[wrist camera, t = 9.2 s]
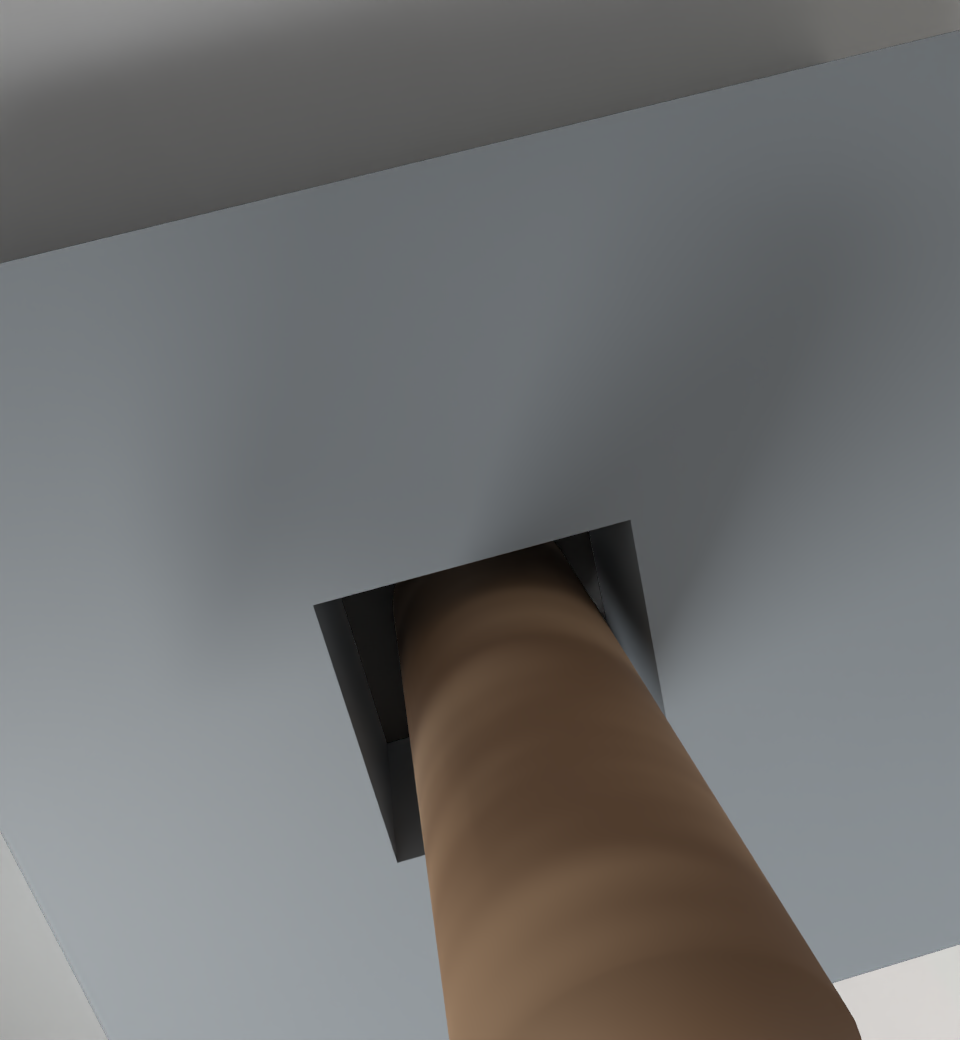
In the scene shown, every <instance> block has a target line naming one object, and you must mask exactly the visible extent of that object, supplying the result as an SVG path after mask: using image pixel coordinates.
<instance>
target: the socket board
mask: <svg viewBox="0 0 960 1040" xmlns="http://www.w3.org/2000/svg"><path fill="white" fill-rule="evenodd" d="M587 531H589V535H590V540H591V545H592V550H593V555H594V560H595V565H596V570H597V575H598V581H599V586H600V591H601V596H602V601H603V606H604V611H605V616H606V621H607V625H608V626H609V628H610V630H611V631H612V633H613V634H614V636H615V638H616V639H617V641H618V642H619V644H620V646H621V647H622V649H623V650H624V652H625V653H626V655H627V657H628V658H629V660H630V661H631V663H632V665H633V666H634V668H635V669H636V671H637V673H638V674H639V676H640V677H641V679H642V681H643V682H644V684H645V685H646V687H647V689H648V690H649V692H650V693H651V695H652V697H653V698H654V700H655V701H656V703H657V705H658V706H659V708H660V709H661V711H662V713H663V714H664V716H665V717H666V719H667V721H668V722H669V724H670V725H671V727H672V729H673V730H674V732H675V733H676V735H677V737H678V738H679V740H680V741H681V743H682V745H683V746H684V748H685V749H686V751H687V753H688V754H689V756H690V757H691V759H692V761H693V762H694V764H695V765H696V767H697V769H698V770H699V772H700V773H701V775H702V777H703V778H704V780H705V781H706V783H707V785H708V786H709V788H710V789H711V791H712V792H713V794H714V796H715V797H716V799H717V800H718V802H719V804H720V805H721V807H722V808H723V810H724V812H725V813H726V815H727V816H728V818H729V820H730V821H731V823H732V824H733V826H734V828H735V829H736V831H737V832H738V834H739V836H740V837H741V839H742V840H743V842H744V844H745V845H746V847H747V848H748V850H749V852H750V853H751V855H752V856H753V858H754V860H755V861H756V863H757V864H758V866H759V868H760V869H761V871H762V872H763V874H764V876H765V877H766V879H767V880H768V882H769V884H770V885H771V887H772V888H773V890H774V892H775V893H776V895H777V896H778V898H779V900H780V901H781V903H782V904H783V906H784V908H785V909H786V911H787V912H788V914H789V916H790V917H791V919H792V920H793V922H794V923H795V925H796V927H797V928H798V930H799V931H800V933H801V935H802V936H803V938H804V939H805V941H806V943H807V944H808V946H809V947H810V949H811V951H812V952H813V954H814V955H815V957H816V959H817V960H818V962H819V963H820V965H821V967H822V968H823V970H824V971H825V973H826V975H827V976H828V978H829V979H830V981H831V983H834V982H838V981H841V980H844V979H848V978H851V977H854V976H858V975H861V974H864V973H867V972H871V971H874V970H877V969H881V968H884V967H887V966H890V965H894V964H897V963H900V962H904V961H907V960H910V959H913V958H917V957H920V956H923V955H927V954H930V953H933V952H936V951H940V950H943V949H946V948H950V947H953V946H956V945H960V30H958V31H954V32H950V33H946V34H941V35H937V36H933V37H929V38H925V39H921V40H917V41H913V42H909V43H904V44H900V45H896V46H892V47H888V48H884V49H880V50H876V51H872V52H867V53H863V54H859V55H855V56H851V57H847V58H843V59H839V60H835V61H830V62H826V63H822V64H818V65H814V66H810V67H806V68H802V69H798V70H793V71H789V72H785V73H781V74H777V75H773V76H769V77H765V78H761V79H756V80H752V81H748V82H744V83H740V84H736V85H732V86H728V87H724V88H719V89H715V90H711V91H707V92H703V93H699V94H695V95H691V96H687V97H682V98H678V99H674V100H670V101H666V102H662V103H658V104H654V105H650V106H645V107H641V108H637V109H633V110H629V111H625V112H621V113H617V114H613V115H608V116H604V117H600V118H596V119H592V120H588V121H584V122H580V123H576V124H571V125H567V126H563V127H559V128H555V129H551V130H547V131H543V132H539V133H534V134H530V135H526V136H522V137H518V138H514V139H510V140H506V141H502V142H497V143H493V144H489V145H485V146H481V147H477V148H473V149H469V150H465V151H460V152H456V153H452V154H448V155H444V156H440V157H436V158H432V159H428V160H423V161H419V162H415V163H411V164H407V165H403V166H399V167H395V168H391V169H386V170H382V171H378V172H374V173H370V174H366V175H362V176H358V177H354V178H349V179H345V180H341V181H337V182H333V183H329V184H325V185H321V186H316V187H312V188H308V189H304V190H300V191H296V192H292V193H288V194H284V195H279V196H275V197H271V198H267V199H263V200H259V201H255V202H251V203H247V204H242V205H238V206H234V207H230V208H226V209H222V210H218V211H214V212H210V213H205V214H201V215H197V216H193V217H189V218H185V219H181V220H177V221H173V222H168V223H164V224H160V225H156V226H152V227H148V228H144V229H140V230H136V231H131V232H127V233H123V234H119V235H115V236H111V237H107V238H103V239H99V240H94V241H90V242H86V243H82V244H78V245H74V246H70V247H66V248H62V249H57V250H53V251H49V252H45V253H41V254H37V255H33V256H29V257H25V258H20V259H16V260H12V261H8V262H4V263H0V832H1V834H2V836H3V838H4V840H5V841H6V843H7V845H8V847H9V849H10V851H11V853H12V855H13V857H14V859H15V861H16V863H17V865H18V867H19V869H20V870H21V872H22V874H23V876H24V878H25V880H26V882H27V884H28V886H29V888H30V890H31V892H32V894H33V896H34V897H35V899H36V901H37V903H38V905H39V907H40V909H41V911H42V913H43V915H44V917H45V919H46V921H47V923H48V925H49V926H50V928H51V930H52V932H53V934H54V936H55V938H56V940H57V942H58V944H59V946H60V948H61V950H62V952H63V953H64V955H65V957H66V959H67V961H68V963H69V965H70V967H71V969H72V971H73V973H74V975H75V977H76V979H77V981H78V982H79V984H80V986H81V988H82V990H83V992H84V994H85V996H86V998H87V1000H88V1002H89V1004H90V1006H91V1008H92V1009H93V1011H94V1013H95V1015H96V1017H97V1019H98V1021H99V1023H100V1025H101V1027H102V1029H103V1031H104V1033H105V1035H106V1037H107V1038H108V1040H449V1034H448V1027H447V1019H446V1011H445V1004H444V996H443V988H442V981H441V973H440V966H439V958H438V950H437V943H436V935H435V927H434V920H433V912H432V904H431V897H430V889H429V882H428V874H427V866H426V859H425V851H424V843H423V836H422V828H421V821H420V813H419V805H418V798H417V790H416V782H415V775H414V767H413V759H412V752H411V744H410V737H409V738H405V739H401V740H398V741H394V742H391V743H387V742H386V739H385V736H384V733H383V729H382V726H381V723H380V720H379V717H378V714H377V710H376V707H375V704H374V701H373V698H372V694H371V691H370V688H369V685H368V682H367V678H366V675H365V672H364V669H363V666H362V663H361V659H360V656H359V653H358V650H357V647H356V643H355V640H354V637H353V634H352V631H351V627H350V624H349V621H348V618H347V615H346V612H345V608H344V605H343V602H342V599H341V598H342V597H346V596H349V595H353V594H357V593H361V592H364V591H368V590H372V589H375V588H379V587H383V586H387V585H390V584H394V583H398V582H401V581H405V580H409V579H413V578H416V577H420V576H424V575H427V574H431V573H435V572H438V571H442V570H446V569H450V568H453V567H457V566H461V565H464V564H468V563H472V562H476V561H479V560H483V559H487V558H490V557H494V556H498V555H501V554H505V553H509V552H513V551H516V550H520V549H524V548H527V547H531V546H535V545H539V544H542V543H546V542H550V541H553V540H557V539H561V538H564V537H568V536H572V535H576V534H579V533H583V532H587Z"/></svg>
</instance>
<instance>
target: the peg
mask: <svg viewBox="0 0 960 1040" xmlns="http://www.w3.org/2000/svg"><path fill="white" fill-rule="evenodd" d="M393 614H394V622H395V630H396V637H397V645H398V653H399V660H400V668H401V675H402V683H403V691H404V698H405V706H406V714H407V721H408V729H409V737H410V744H411V752H412V759H413V767H414V775H415V782H416V790H417V798H418V805H419V813H420V821H421V828H422V836H423V843H424V851H425V859H426V866H427V874H428V882H429V889H430V897H431V904H432V912H433V920H434V927H435V935H436V943H437V950H438V958H439V966H440V973H441V981H442V988H443V996H444V1004H445V1011H446V1019H447V1027H448V1034H449V1040H861V1036H860V1033H859V1031H858V1028H857V1025H856V1022H855V1020H854V1018H853V1017H852V1015H851V1013H850V1012H849V1010H848V1008H847V1007H846V1005H845V1003H844V1002H843V1000H842V999H841V997H840V995H839V994H838V992H837V991H836V989H835V987H834V986H833V984H832V983H831V981H830V979H829V978H828V976H827V975H826V973H825V971H824V970H823V968H822V967H821V965H820V963H819V962H818V960H817V959H816V957H815V955H814V954H813V952H812V951H811V949H810V947H809V946H808V944H807V943H806V941H805V939H804V938H803V936H802V935H801V933H800V931H799V930H798V928H797V927H796V925H795V923H794V922H793V920H792V919H791V917H790V916H789V914H788V912H787V911H786V909H785V908H784V906H783V904H782V903H781V901H780V900H779V898H778V896H777V895H776V893H775V892H774V890H773V888H772V887H771V885H770V884H769V882H768V880H767V879H766V877H765V876H764V874H763V872H762V871H761V869H760V868H759V866H758V864H757V863H756V861H755V860H754V858H753V856H752V855H751V853H750V852H749V850H748V848H747V847H746V845H745V844H744V842H743V840H742V839H741V837H740V836H739V834H738V832H737V831H736V829H735V828H734V826H733V824H732V823H731V821H730V820H729V818H728V816H727V815H726V813H725V812H724V810H723V808H722V807H721V805H720V804H719V802H718V800H717V799H716V797H715V796H714V794H713V792H712V791H711V789H710V788H709V786H708V785H707V783H706V781H705V780H704V778H703V777H702V775H701V773H700V772H699V770H698V769H697V767H696V765H695V764H694V762H693V761H692V759H691V757H690V756H689V754H688V753H687V751H686V749H685V748H684V746H683V745H682V743H681V741H680V740H679V738H678V737H677V735H676V733H675V732H674V730H673V729H672V727H671V725H670V724H669V722H668V721H667V719H666V717H665V716H664V714H663V713H662V711H661V709H660V708H659V706H658V705H657V703H656V701H655V700H654V698H653V697H652V695H651V693H650V692H649V690H648V689H647V687H646V685H645V684H644V682H643V681H642V679H641V677H640V676H639V674H638V673H637V671H636V669H635V668H634V666H633V665H632V663H631V661H630V660H629V658H628V657H627V655H626V653H625V652H624V650H623V649H622V647H621V646H620V644H619V642H618V641H617V639H616V638H615V636H614V634H613V633H612V631H611V630H610V628H609V626H608V625H607V623H606V622H605V620H604V618H603V617H602V615H601V614H600V612H599V610H598V609H597V607H596V606H595V604H594V602H593V601H592V599H591V598H590V596H589V594H588V593H587V591H586V590H585V588H584V586H583V585H582V583H581V582H580V580H579V578H578V577H577V575H576V574H575V572H574V570H573V569H572V567H571V566H570V564H569V562H568V561H567V559H566V558H565V556H564V554H563V553H562V551H561V550H560V548H559V547H558V546H557V545H556V543H555V542H554V541H550V542H546V543H542V544H539V545H535V546H531V547H527V548H524V549H520V550H516V551H513V552H509V553H505V554H501V555H498V556H494V557H490V558H487V559H483V560H479V561H476V562H472V563H468V564H464V565H461V566H457V567H453V568H450V569H446V570H442V571H438V572H435V573H431V574H427V575H424V576H420V577H416V578H413V579H409V580H405V581H401V582H398V583H396V584H395V588H394V594H393Z"/></svg>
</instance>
